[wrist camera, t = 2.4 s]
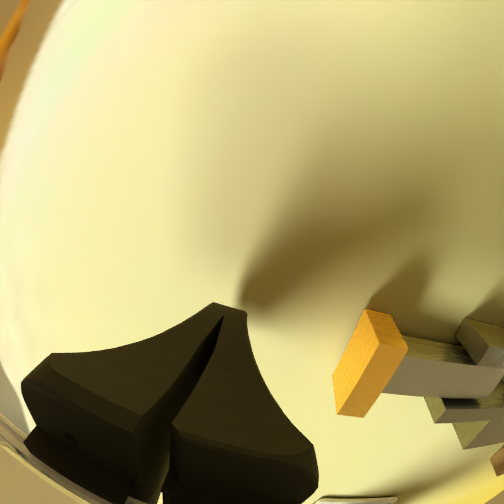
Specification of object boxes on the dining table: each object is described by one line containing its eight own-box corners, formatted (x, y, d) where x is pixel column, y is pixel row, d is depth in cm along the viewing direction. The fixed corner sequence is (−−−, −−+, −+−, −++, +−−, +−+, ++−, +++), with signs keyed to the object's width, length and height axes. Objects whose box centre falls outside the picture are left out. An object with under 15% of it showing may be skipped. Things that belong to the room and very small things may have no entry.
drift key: (468, 390, 11) (484, 418, 9) (332, 375, 12) (336, 414, 9) (502, 339, 10) (523, 364, 8) (364, 308, 11) (379, 343, 8)
